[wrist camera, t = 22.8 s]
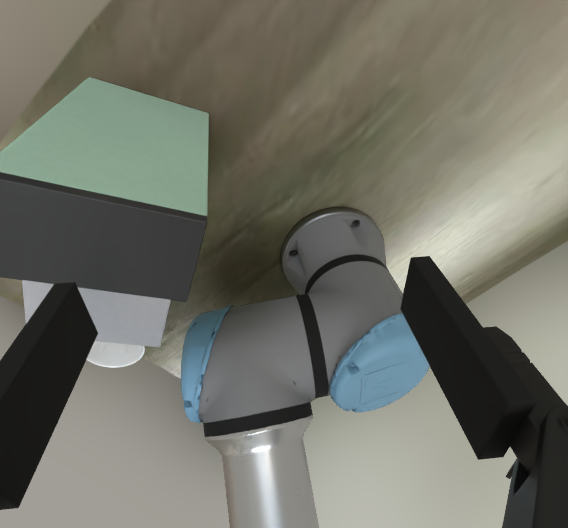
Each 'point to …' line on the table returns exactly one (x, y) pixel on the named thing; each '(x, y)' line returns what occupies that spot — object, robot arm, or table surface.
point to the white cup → (115, 354)
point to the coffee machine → (107, 206)
